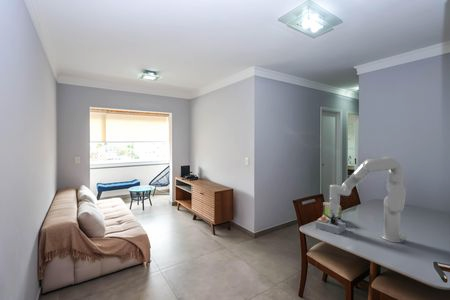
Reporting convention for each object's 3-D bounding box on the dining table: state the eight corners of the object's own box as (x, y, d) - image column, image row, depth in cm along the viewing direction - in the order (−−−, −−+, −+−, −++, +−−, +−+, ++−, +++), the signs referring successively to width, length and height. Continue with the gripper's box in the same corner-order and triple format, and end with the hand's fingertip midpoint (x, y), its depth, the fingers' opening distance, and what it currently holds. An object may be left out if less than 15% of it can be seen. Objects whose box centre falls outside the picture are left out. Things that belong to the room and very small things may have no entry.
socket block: (345, 229, 178) (345, 223, 178) (338, 234, 169) (338, 228, 169) (323, 223, 192) (323, 217, 191) (315, 227, 182) (315, 221, 182)
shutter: (329, 220, 184) (329, 216, 184) (325, 222, 179) (325, 218, 179) (321, 218, 189) (321, 214, 189) (317, 220, 185) (317, 216, 184)
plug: (338, 225, 178) (338, 214, 178) (335, 226, 175) (336, 215, 174) (332, 223, 181) (332, 212, 181) (329, 225, 178) (330, 213, 178)
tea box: (341, 223, 191) (342, 206, 191) (330, 223, 191) (330, 206, 191) (333, 217, 207) (333, 201, 206) (322, 217, 206) (322, 201, 206)
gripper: (334, 197, 185) (333, 219, 186) (325, 201, 174) (325, 224, 175) (343, 199, 180) (343, 221, 181) (335, 203, 169) (334, 226, 170)
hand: (334, 222), depth 178 cm, fingers closed on plug, 4 cm apart
